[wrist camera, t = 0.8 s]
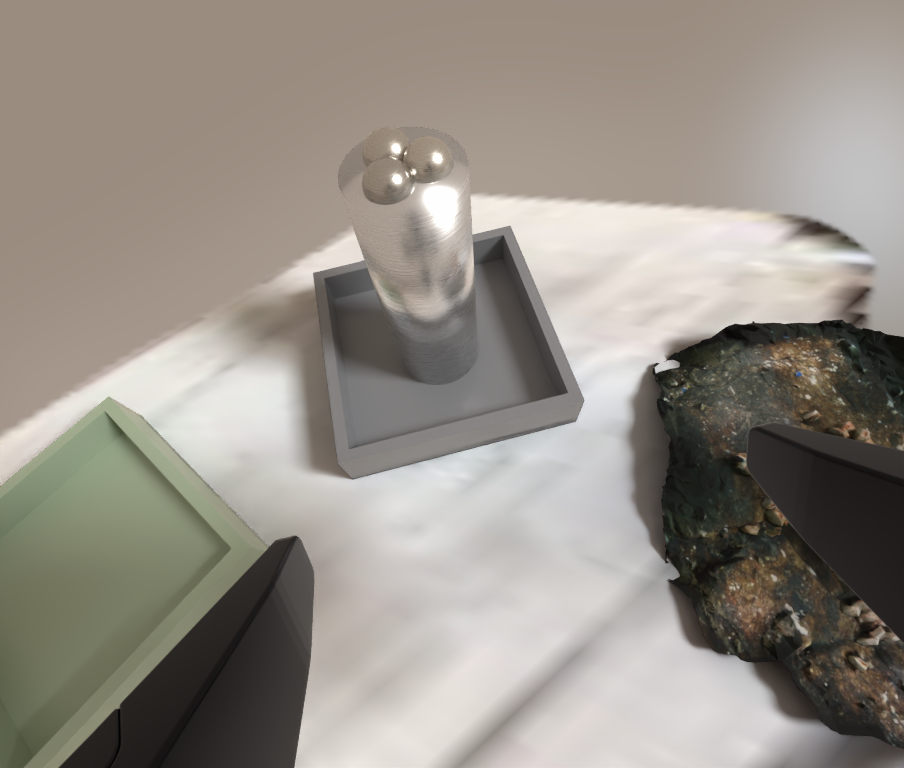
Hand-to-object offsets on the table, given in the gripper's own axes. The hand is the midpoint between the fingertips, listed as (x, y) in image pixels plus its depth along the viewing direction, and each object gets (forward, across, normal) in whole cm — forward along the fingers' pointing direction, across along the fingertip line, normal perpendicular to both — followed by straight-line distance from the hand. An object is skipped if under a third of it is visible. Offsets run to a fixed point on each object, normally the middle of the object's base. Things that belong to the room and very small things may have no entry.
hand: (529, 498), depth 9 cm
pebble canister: (+18, +1, +3) cm, 18 cm away
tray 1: (+12, +20, +8) cm, 24 cm away
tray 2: (+18, +1, +3) cm, 19 cm away
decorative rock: (+9, -15, +12) cm, 21 cm away
